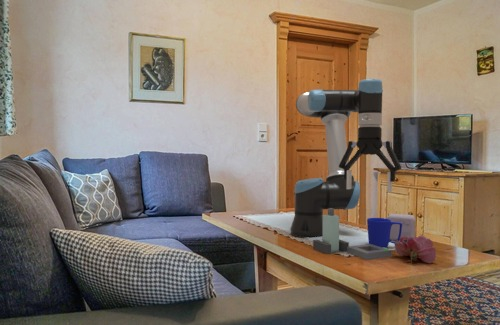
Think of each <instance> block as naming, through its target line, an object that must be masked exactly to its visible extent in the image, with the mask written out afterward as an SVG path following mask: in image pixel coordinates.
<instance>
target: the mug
mask: <svg viewBox="0 0 500 325" xmlns="http://www.w3.org/2000/svg"><path fill="white" fill-rule="evenodd" d="M366 223H367V224H366V225H367V237H368V240H367V241H368V244H372V245H375V246H379V247H382V248H387V249H388V246H389V244H390V243H391V244H394V243H395V241H394V240H390V231H391V226H392V225H393V224H399V225H400V230H399V236H398V239H397V240H398V241H399V240H400V237H401V231H402V223H400V222H391V220H389V219H387V218H384V217H368V218H367V219H366Z"/></svg>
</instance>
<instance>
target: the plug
mask: <svg viewBox="0 0 500 325" xmlns="http://www.w3.org/2000/svg"><path fill="white" fill-rule="evenodd" d="M339 240H340V215H337V214H335V209H334V208H328V209H327V214H323V237H322V240H321V241H323V242H325V243H328V244H331V252H333V251H339Z"/></svg>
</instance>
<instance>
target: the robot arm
mask: <svg viewBox="0 0 500 325" xmlns="http://www.w3.org/2000/svg"><path fill="white" fill-rule="evenodd" d="M383 91H384V90H383V81H382V80H381V79H378V78H367V79H361V80H360V81H359V82H358V88H357V89H320V88H319V89H318V88H316V89H311V90H309V91H308V92H304V93H302V94H299V95H298V96H297V98H296V101H295V107H296V110H297V112H299V113H300V114H301V115H303V116H305V117H309V118H318V119H320V122H321V123H322V124H323V125H324V129H325V139H326V140H325V141H326V151H327V152H326V153H327V154H326V155H327V162H328V163H327V164H328V175H327V176H326V178H325V181H324V179H323V178H321V177H316V178H314V177H313V178H307V179H301V180H298V181H296V183H295V185H294V192H293V193H294V216H293V220H292V223H291V226H290V229H289V230H290V236H293V237H298V238H304V237H309V238H321V237H322V238H323V215H324V214H323V212H324V210H328V208H334V210H353V209H355V208H356V207H357V205H358V203H359V201H360V195H361V186H360V182H359V181H357V180H355V178H354V177H355V176H354V175H353V173H352V172H353V171H352V169H351V168H352V167H353V165H354V164H355V163H356V162H357V161H358V160H359V158H360V157H361V156H363V155H371V156H372V155H373V156H375V155H376V156H377V157H378V158H379V159H380V160H381V162H382V163H383V164H384V165H385V167H387V169H388V170H389V171H387V173H386V174H387V176H386V177H387V181H386V182H387V184H386V193H391V192H393V182H395V181H396V172H397V171H399V170H402V168H403V167H402V165H401V163H400V161H399V159H398V157H397V154H395V151H394V149H393V145H392V141H390V140H387V141H382V130H383V129H382V127H381V126H382V125H383V120H382V118H383ZM351 113H358V114H357V115H358V117H357V119H358V120H357V125H358V126H359V127H358V128H357V141H353V140H352V141H351V140H350V141H348V143H347V136H346V126H345V123H346V122H347V121H348V119H349V118H350V116H351ZM356 147H357V148H358V150H357V151H356V152H355V154H354V155H353V156H352V157H351V159H349V158H350V156H351V155H352V153H353V150H354V148H356ZM382 147H384V148H385V149H386V152H387V154H388V155H389V158H390V159H391V162H390V160H389V159H388V158H387V156H385V154H384V153H383V151H382V150H381V148H382ZM309 238H308V239H309Z"/></svg>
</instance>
